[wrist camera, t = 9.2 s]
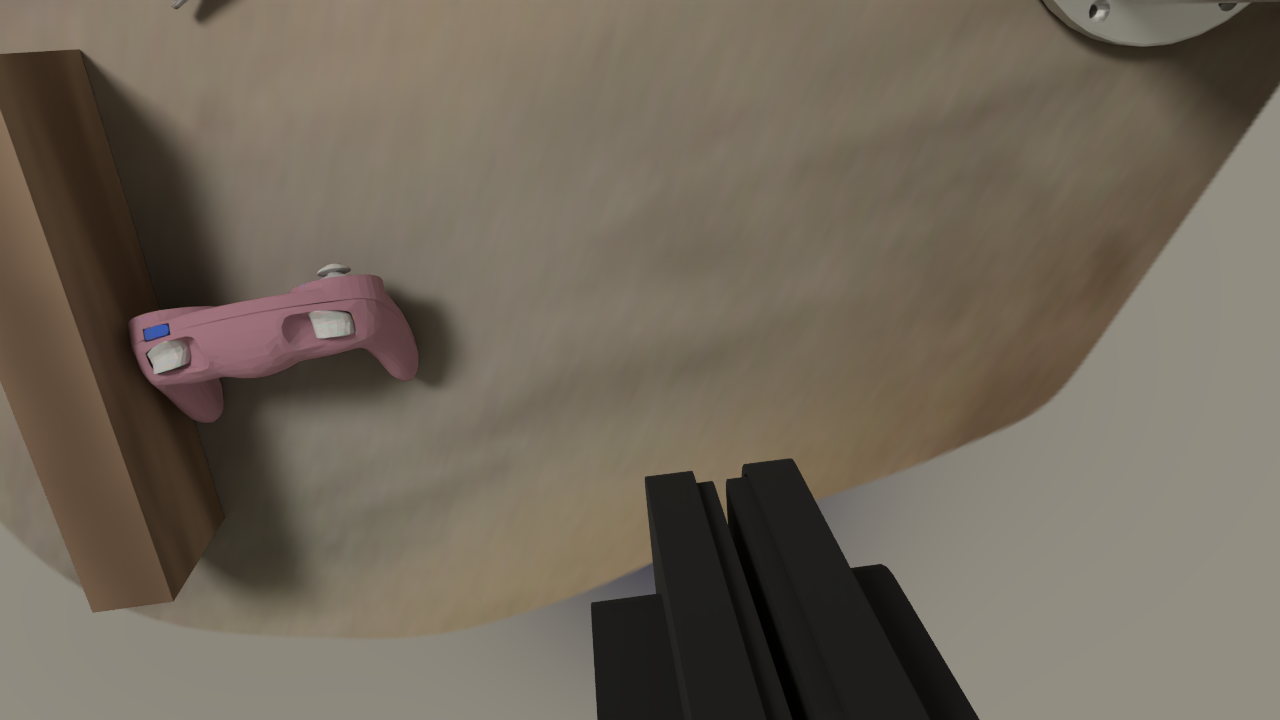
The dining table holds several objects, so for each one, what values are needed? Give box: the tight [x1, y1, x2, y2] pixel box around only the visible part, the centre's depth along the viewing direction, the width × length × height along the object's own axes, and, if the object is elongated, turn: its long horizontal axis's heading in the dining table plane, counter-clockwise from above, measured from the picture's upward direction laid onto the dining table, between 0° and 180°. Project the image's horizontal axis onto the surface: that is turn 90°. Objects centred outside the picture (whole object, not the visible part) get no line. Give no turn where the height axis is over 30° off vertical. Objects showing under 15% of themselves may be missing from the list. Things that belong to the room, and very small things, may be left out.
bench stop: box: [0, 49, 224, 612], centre depth 32 cm, size 3×20×6 cm, turn 5°
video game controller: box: [128, 264, 419, 423], centre depth 33 cm, size 10×5×7 cm, turn 100°
